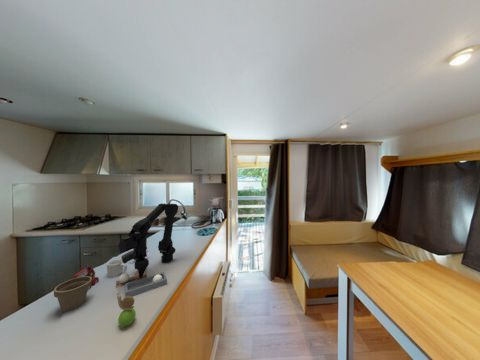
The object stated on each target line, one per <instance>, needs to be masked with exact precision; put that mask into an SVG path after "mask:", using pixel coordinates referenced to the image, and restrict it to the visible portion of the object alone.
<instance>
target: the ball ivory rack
mask: <svg viewBox="0 0 480 360" xmlns="http://www.w3.org/2000/svg"><path fill="white" fill-rule="evenodd" d="M129 278H130V274H129V273H127V272H123V273H121V274H120V276H119V278H118V281H120V282H121V283H125V282H127V281H128V280H129Z"/></svg>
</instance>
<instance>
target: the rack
mask: <svg viewBox="0 0 480 360" xmlns="http://www.w3.org/2000/svg"><path fill="white" fill-rule="evenodd" d="M146 277H148V275H147V272H145V273H144V276H143V277H141V278H136V277H135V275H133V276H131V277H129V280H128V281H127V282H125V283H121V282H120V281H119V280H116V281H115V289H118V288H122V287H125V284H126V283H129V282H133V281H136V280H139V279H143V278H146Z"/></svg>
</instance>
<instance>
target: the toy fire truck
mask: <svg viewBox="0 0 480 360" xmlns="http://www.w3.org/2000/svg"><path fill="white" fill-rule="evenodd" d="M83 276H89V277H91V278H92V284H91V285H90V286H89V288H88V291H89V290H90V289H91V288H92V286H93V287H94V286H95V285H96V284H98V282H100V281H99V277H98V276H96V271H95V269H94V268H93V267H92V266H91V265H87V266H86V267H85V268H83V269H81V270H80V271H79V272H77V273H76V274H74V275H73V277H72V279H74V278H78V277H83Z"/></svg>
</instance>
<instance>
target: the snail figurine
mask: <svg viewBox="0 0 480 360" xmlns="http://www.w3.org/2000/svg"><path fill="white" fill-rule="evenodd" d="M120 293H121V292H120V291H118V292H117V293H116V295H117V297H116V299H117V305H118V307H119V308H120V310H122V311H121V312H120V314H119V316H118V319H117V321H118V325H119V326H120V327H127V326H130V325H131V324H132V323H133V321H134V320H135V319H136V315H137V313H136V310H135V309H134V308H135V306H134V305H135V298H134V296H126V297H123V299H122V294H121V295H120Z"/></svg>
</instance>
